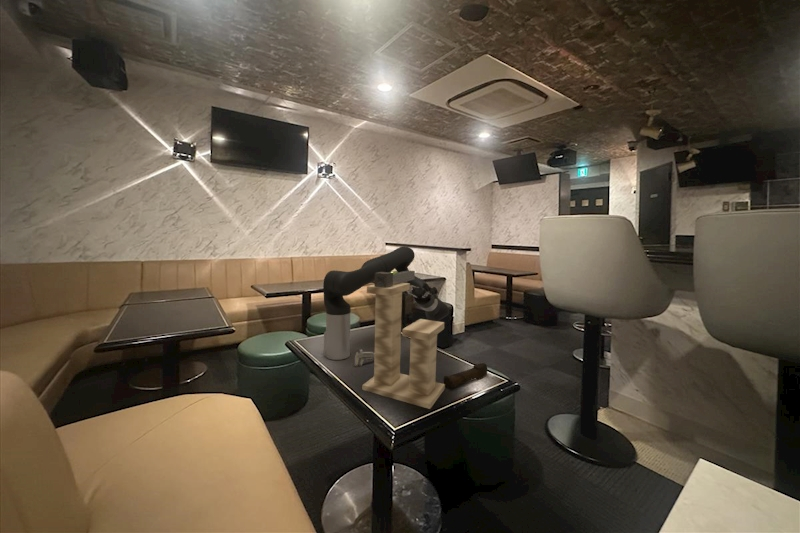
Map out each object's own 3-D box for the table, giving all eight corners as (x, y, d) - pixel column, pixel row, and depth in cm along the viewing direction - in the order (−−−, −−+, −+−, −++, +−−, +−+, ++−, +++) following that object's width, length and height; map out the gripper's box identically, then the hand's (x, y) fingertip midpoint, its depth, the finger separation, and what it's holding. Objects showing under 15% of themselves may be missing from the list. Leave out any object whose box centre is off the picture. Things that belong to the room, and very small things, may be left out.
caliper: (355, 367, 110) (356, 350, 109) (354, 366, 110) (354, 350, 110) (400, 355, 122) (401, 340, 122) (399, 354, 123) (399, 339, 122)
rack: (362, 389, 93) (363, 285, 90) (383, 373, 105) (385, 281, 102) (429, 409, 84) (434, 293, 81) (444, 388, 95) (449, 287, 92)
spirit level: (374, 286, 90) (374, 273, 90) (406, 278, 110) (406, 267, 109) (386, 287, 88) (386, 274, 88) (416, 279, 108) (416, 268, 108)
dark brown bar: (450, 391, 94) (451, 377, 94) (442, 386, 98) (443, 372, 97) (493, 378, 104) (493, 365, 104) (484, 373, 108) (484, 361, 107)
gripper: (412, 289, 128) (397, 272, 115) (445, 292, 122) (433, 275, 109) (408, 306, 126) (392, 291, 112) (441, 310, 119) (429, 295, 106)
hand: (413, 283), depth 111 cm, fingers open, 8 cm apart
